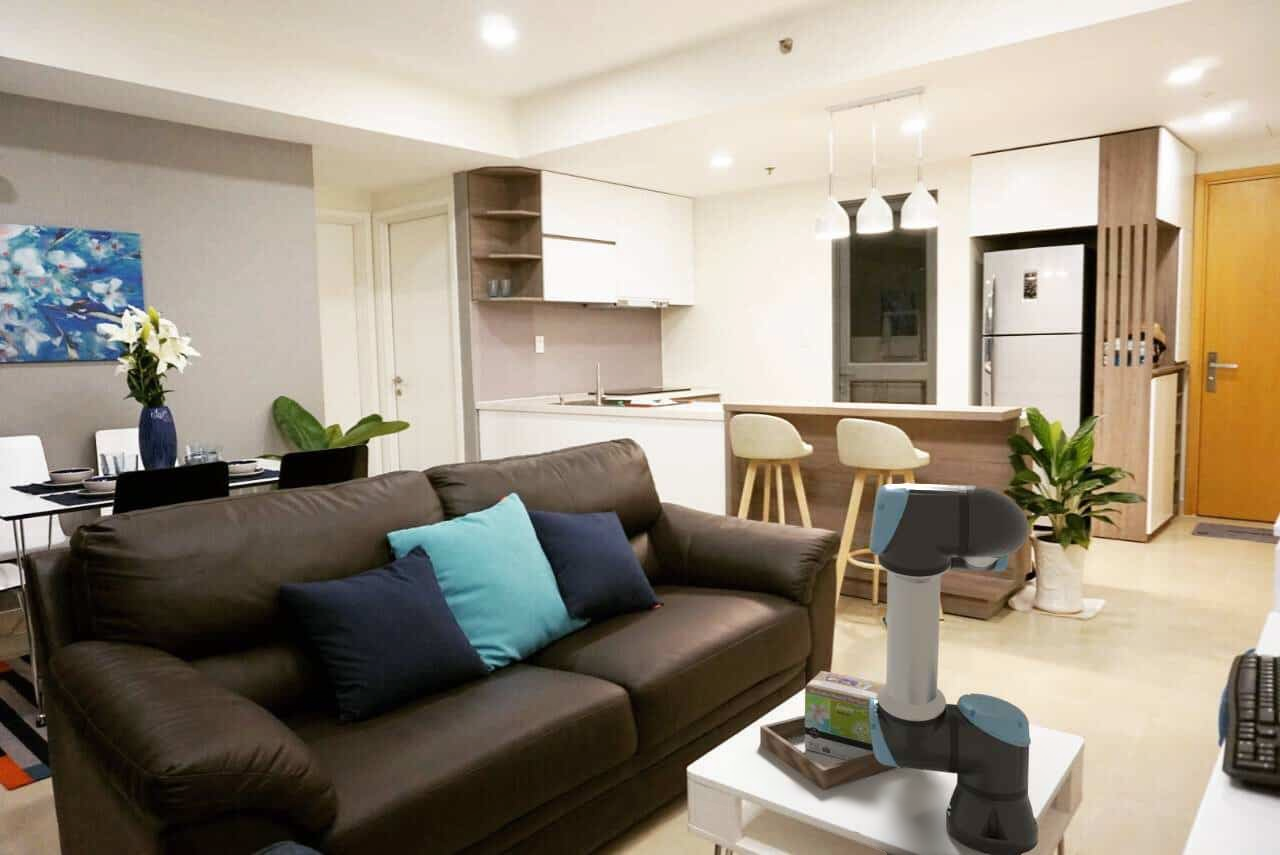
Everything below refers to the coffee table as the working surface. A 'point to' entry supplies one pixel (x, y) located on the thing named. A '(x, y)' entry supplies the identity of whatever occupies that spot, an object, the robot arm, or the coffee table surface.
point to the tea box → (839, 715)
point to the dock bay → (822, 776)
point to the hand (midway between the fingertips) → (908, 688)
